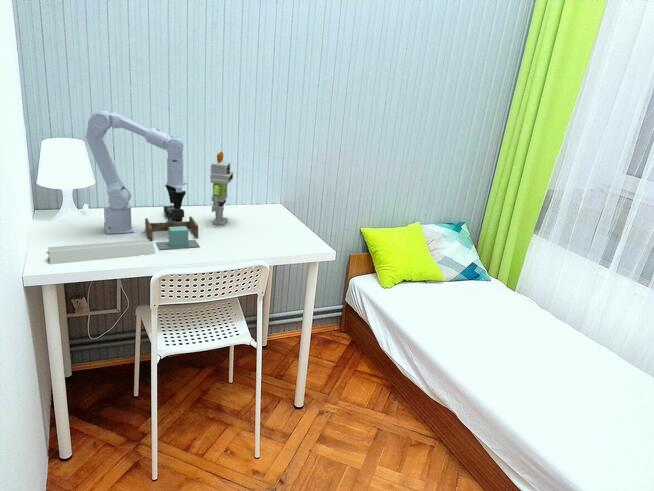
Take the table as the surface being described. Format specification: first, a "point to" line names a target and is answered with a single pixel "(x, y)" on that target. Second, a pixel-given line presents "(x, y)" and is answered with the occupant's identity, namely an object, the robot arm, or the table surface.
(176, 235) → the block
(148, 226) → the frame
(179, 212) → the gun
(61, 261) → the crown molding
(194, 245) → the mat
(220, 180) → the toy
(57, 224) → the table surface
